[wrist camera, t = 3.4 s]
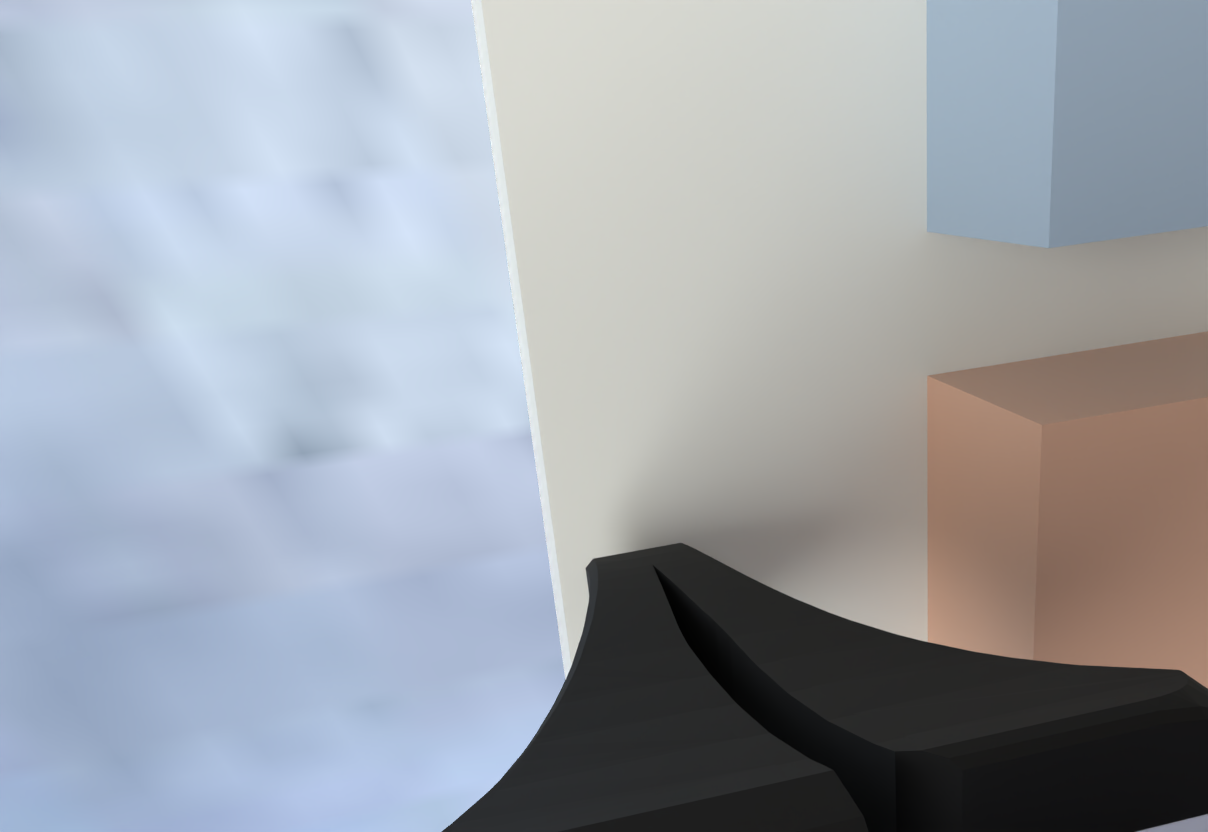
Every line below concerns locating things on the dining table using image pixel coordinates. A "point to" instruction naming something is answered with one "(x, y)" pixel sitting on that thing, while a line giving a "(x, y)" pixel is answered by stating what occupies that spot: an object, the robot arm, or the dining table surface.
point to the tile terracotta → (1073, 507)
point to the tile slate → (1066, 119)
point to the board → (761, 288)
